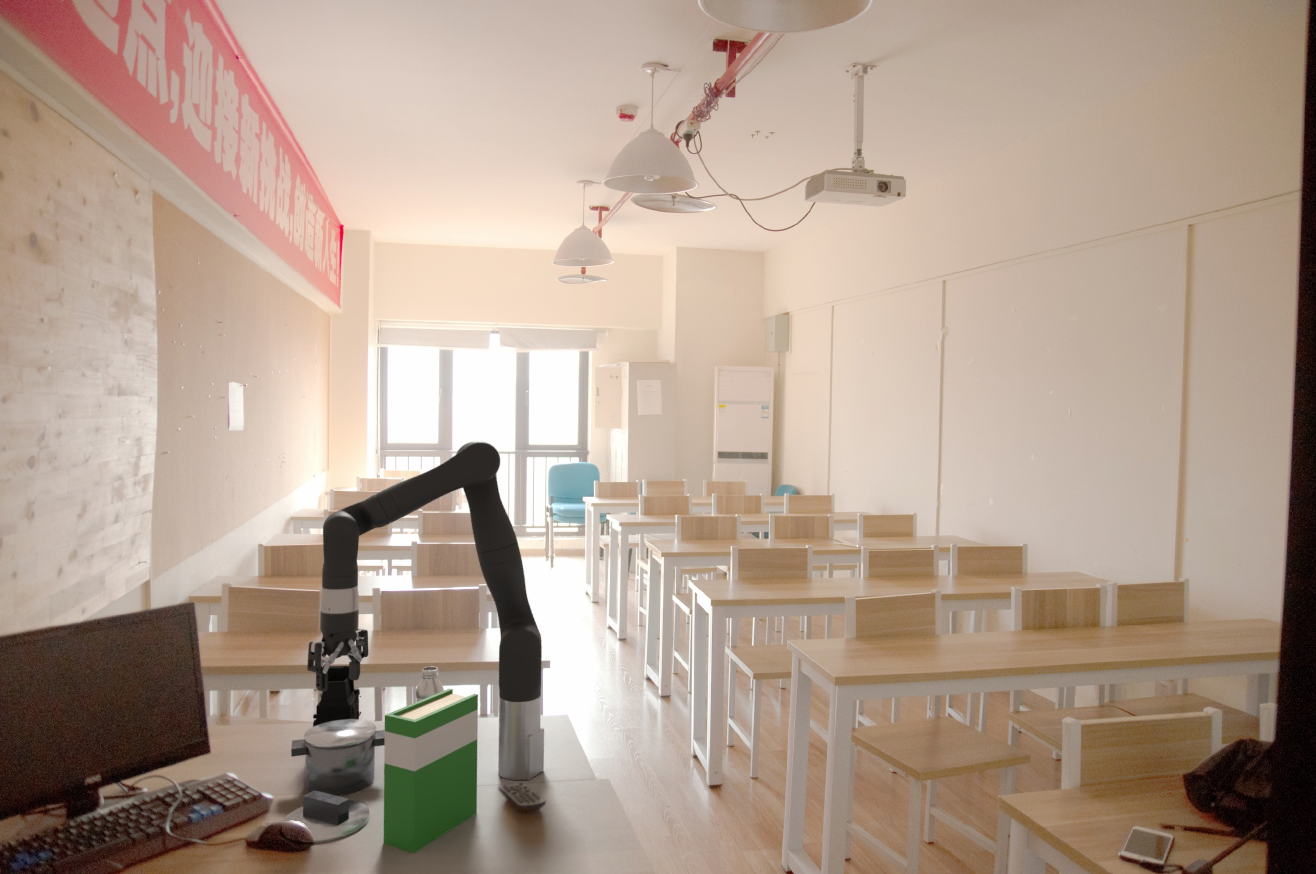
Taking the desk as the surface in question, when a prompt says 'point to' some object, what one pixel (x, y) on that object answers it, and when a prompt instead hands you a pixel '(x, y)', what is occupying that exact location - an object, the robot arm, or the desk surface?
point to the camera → (338, 698)
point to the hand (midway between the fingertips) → (338, 684)
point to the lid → (330, 816)
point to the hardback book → (429, 769)
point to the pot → (339, 755)
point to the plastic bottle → (428, 684)
